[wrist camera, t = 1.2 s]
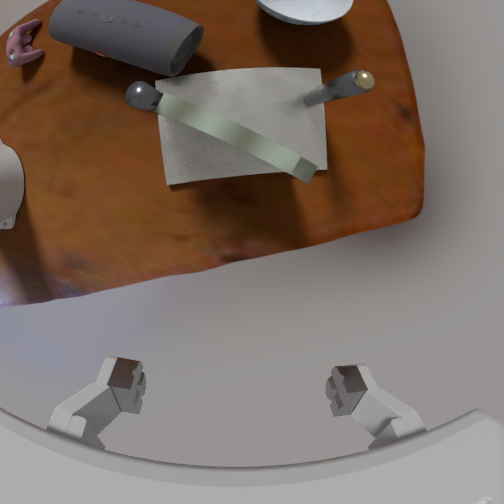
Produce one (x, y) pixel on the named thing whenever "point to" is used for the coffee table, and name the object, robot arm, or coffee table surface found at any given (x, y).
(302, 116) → the gate frame
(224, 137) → the gate
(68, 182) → the coffee table surface
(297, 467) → the robot arm
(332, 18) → the chinaware
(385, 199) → the coffee table surface
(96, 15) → the bluetooth speaker
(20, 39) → the video game controller
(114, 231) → the coffee table surface
